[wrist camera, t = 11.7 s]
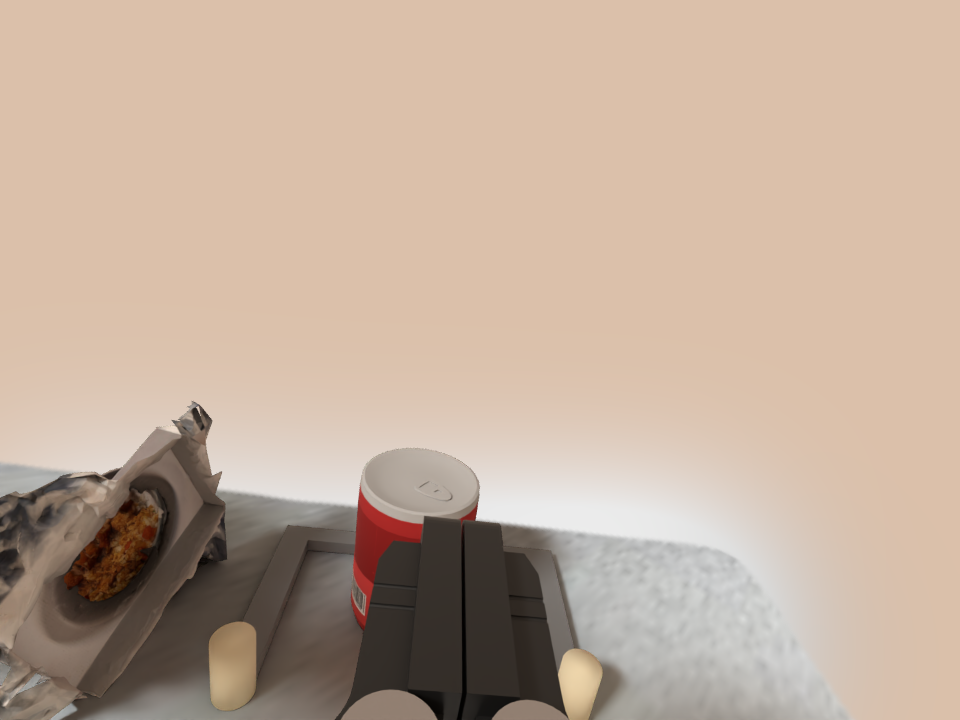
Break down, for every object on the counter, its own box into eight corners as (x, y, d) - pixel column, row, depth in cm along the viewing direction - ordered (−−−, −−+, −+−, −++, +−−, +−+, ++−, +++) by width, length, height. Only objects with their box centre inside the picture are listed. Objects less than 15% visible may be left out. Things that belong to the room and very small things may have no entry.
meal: (177, 550, 40) (168, 394, 35) (228, 564, 39) (225, 408, 35) (-43, 748, 26) (-105, 531, 21) (32, 774, 25) (-15, 557, 21)
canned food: (433, 671, 33) (456, 531, 30) (326, 624, 36) (335, 487, 32) (473, 590, 40) (496, 468, 37) (382, 554, 42) (395, 436, 39)
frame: (202, 709, 29) (200, 656, 28) (285, 534, 43) (286, 494, 42) (591, 735, 31) (607, 686, 30) (551, 560, 45) (560, 521, 43)
